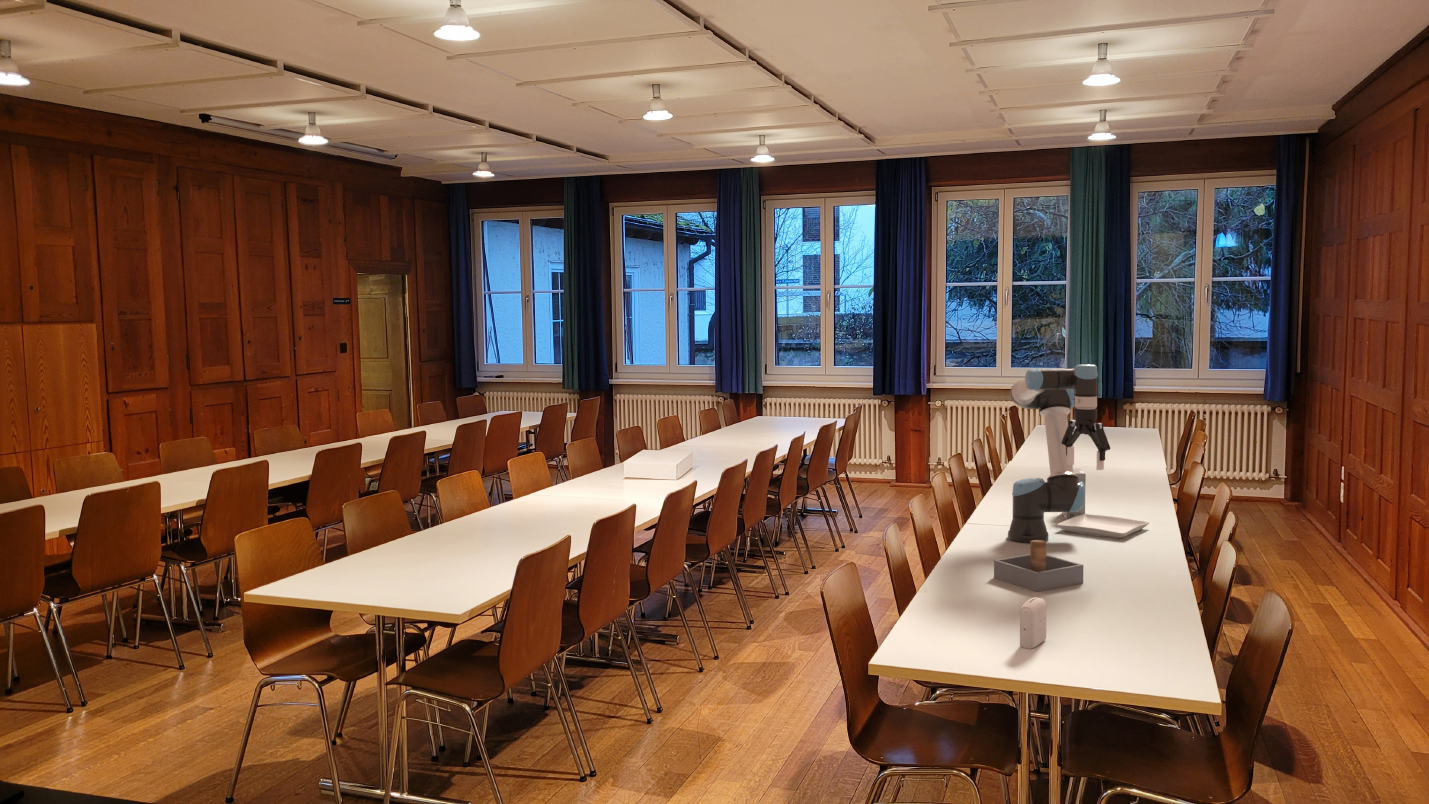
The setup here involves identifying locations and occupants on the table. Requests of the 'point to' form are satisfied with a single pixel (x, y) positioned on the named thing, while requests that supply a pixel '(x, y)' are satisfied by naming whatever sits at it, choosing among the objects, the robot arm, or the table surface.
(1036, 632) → the photo printer
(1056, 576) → the tote
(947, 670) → the table surface
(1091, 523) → the square plate
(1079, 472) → the hard drive box
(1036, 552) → the walnut cylinder
